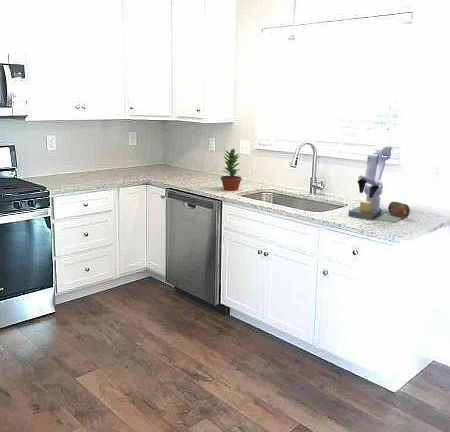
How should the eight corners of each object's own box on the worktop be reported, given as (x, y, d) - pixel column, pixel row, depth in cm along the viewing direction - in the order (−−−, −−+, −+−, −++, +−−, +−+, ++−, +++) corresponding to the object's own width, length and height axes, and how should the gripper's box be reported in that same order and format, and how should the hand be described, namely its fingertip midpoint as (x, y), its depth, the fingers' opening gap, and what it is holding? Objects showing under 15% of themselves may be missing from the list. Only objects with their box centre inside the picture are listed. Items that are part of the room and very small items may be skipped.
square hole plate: (358, 211, 307) (358, 206, 306) (381, 215, 299) (381, 210, 298) (348, 215, 296) (348, 210, 295) (371, 219, 288) (372, 214, 287)
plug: (362, 214, 300) (363, 200, 299) (370, 215, 298) (371, 202, 296) (359, 215, 297) (360, 202, 295) (367, 216, 294) (368, 203, 293)
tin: (387, 214, 302) (388, 200, 300) (391, 213, 303) (392, 199, 301) (405, 220, 289) (407, 205, 287) (409, 219, 290) (411, 205, 288)
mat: (382, 215, 298) (382, 214, 298) (401, 218, 292) (401, 217, 291) (375, 219, 289) (375, 218, 289) (394, 222, 283) (394, 221, 283)
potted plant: (233, 186, 376) (234, 145, 369) (245, 190, 364) (246, 147, 357) (215, 188, 368) (216, 146, 361) (227, 192, 356) (228, 148, 349)
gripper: (366, 167, 292) (361, 189, 289) (384, 176, 298) (380, 198, 295) (357, 169, 298) (352, 191, 295) (375, 178, 304) (371, 200, 301)
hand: (365, 195), depth 295 cm, fingers open, 7 cm apart
